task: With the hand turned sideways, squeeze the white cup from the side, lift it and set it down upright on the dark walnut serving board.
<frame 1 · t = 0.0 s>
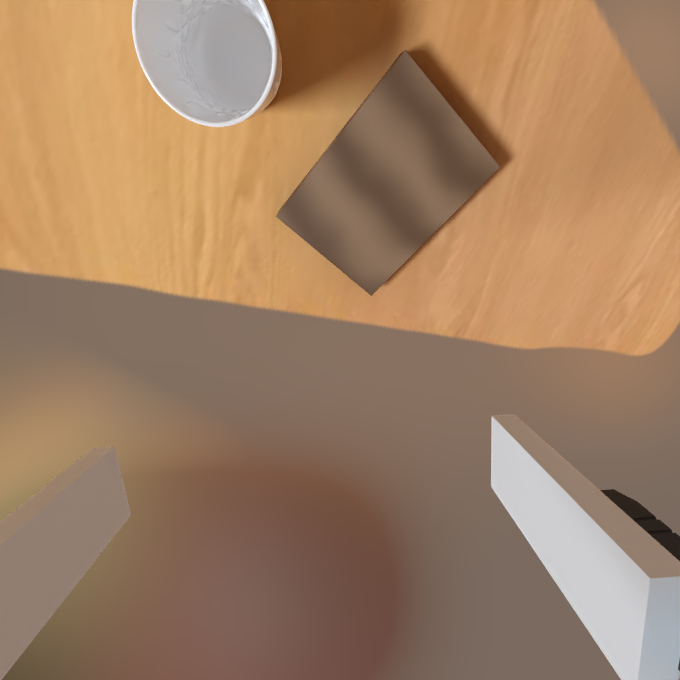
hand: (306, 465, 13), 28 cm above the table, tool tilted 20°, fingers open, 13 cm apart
white cup: (240, 65, 30), on the table
walnut board: (382, 188, 35), on the table
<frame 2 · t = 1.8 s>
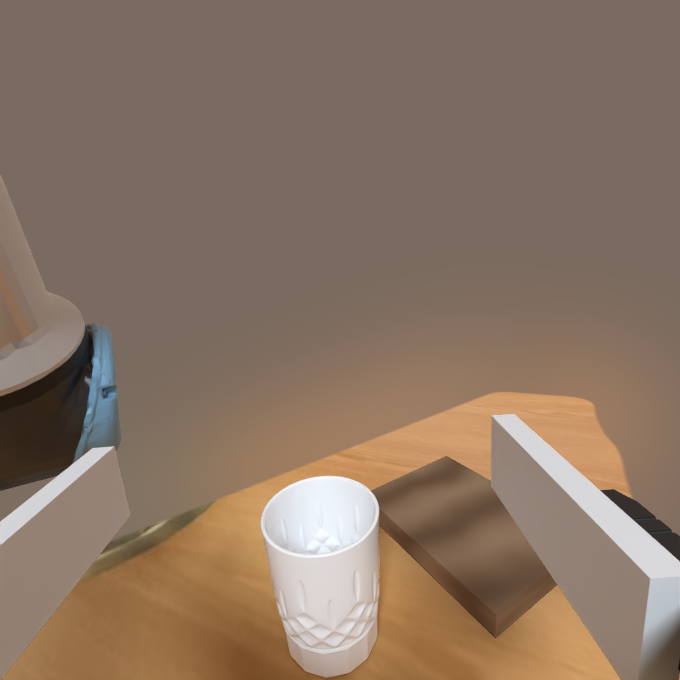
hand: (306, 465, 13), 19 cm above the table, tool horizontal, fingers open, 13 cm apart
white cup: (332, 630, 27), on the table
walnut board: (464, 531, 35), on the table
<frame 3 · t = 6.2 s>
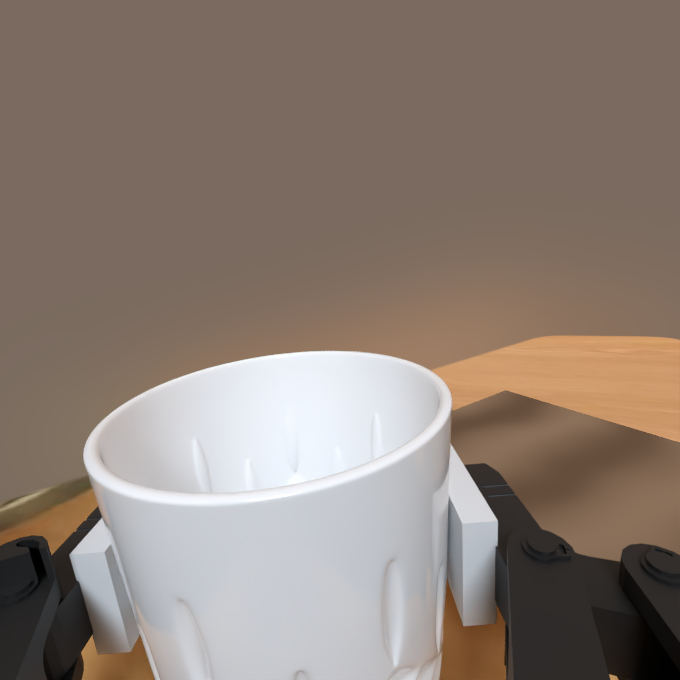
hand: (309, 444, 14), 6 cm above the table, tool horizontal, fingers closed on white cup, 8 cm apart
walnut board: (567, 497, 19), on the table
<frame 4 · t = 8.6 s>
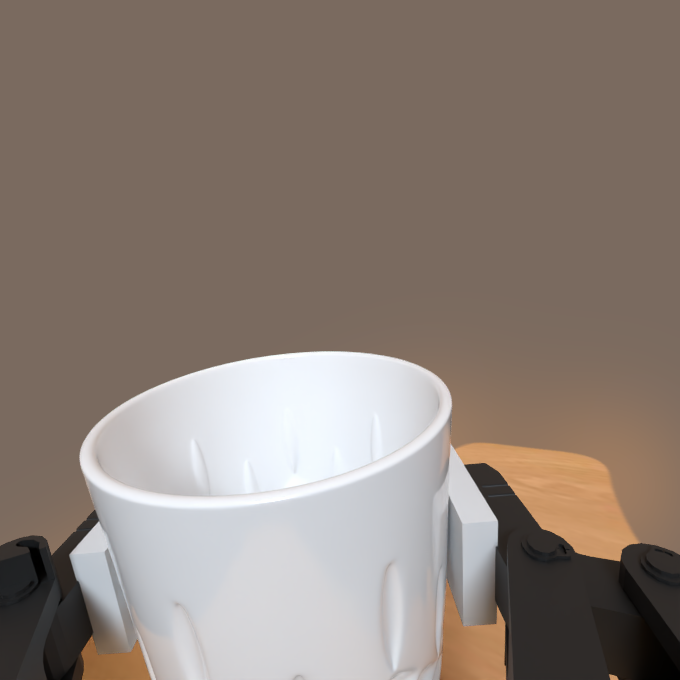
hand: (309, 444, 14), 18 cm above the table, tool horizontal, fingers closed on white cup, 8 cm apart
when the fingers open (9 cm above the table, at t = 11.2 s): white cup drops 1 cm, resting on walnut board.
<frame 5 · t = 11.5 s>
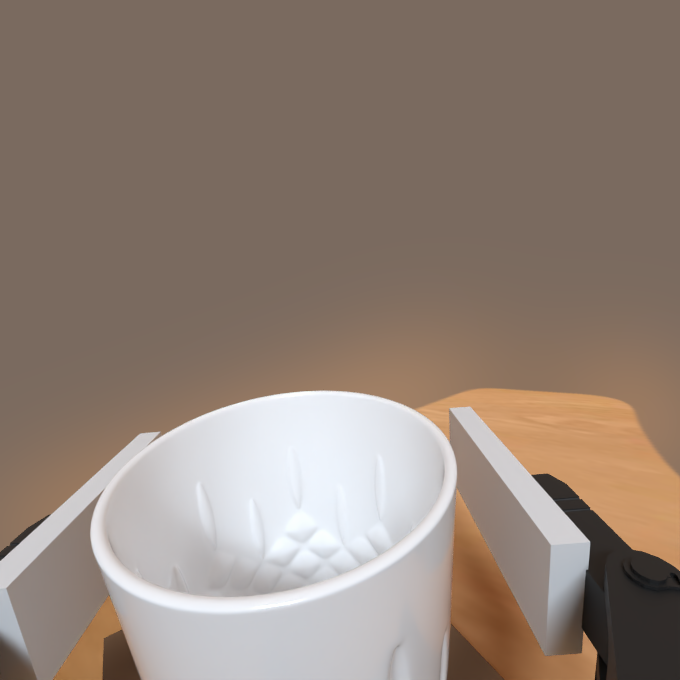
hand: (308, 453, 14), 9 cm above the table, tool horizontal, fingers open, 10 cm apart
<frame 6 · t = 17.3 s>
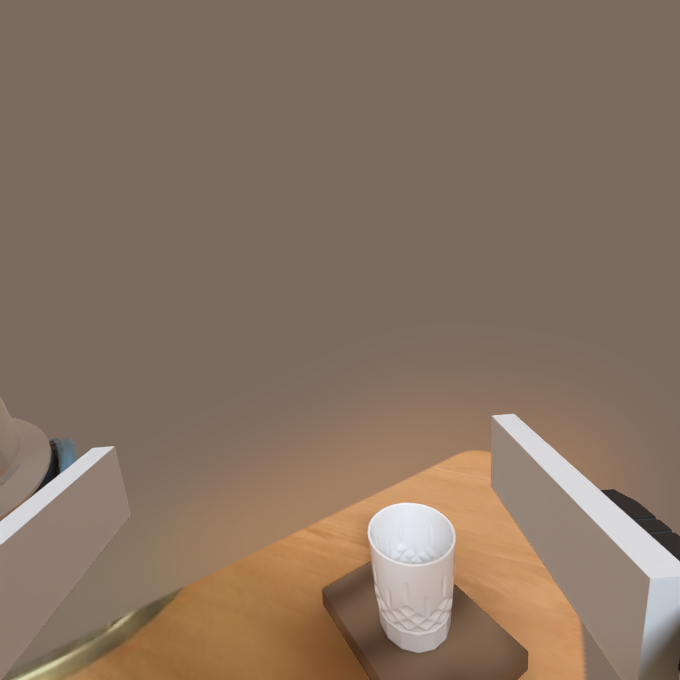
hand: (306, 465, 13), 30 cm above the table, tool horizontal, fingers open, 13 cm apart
white cup: (414, 619, 36), point 2 cm above the table, touching walnut board
walnut board: (414, 633, 37), on the table
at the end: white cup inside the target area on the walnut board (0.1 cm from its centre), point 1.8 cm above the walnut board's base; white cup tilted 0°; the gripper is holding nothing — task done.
